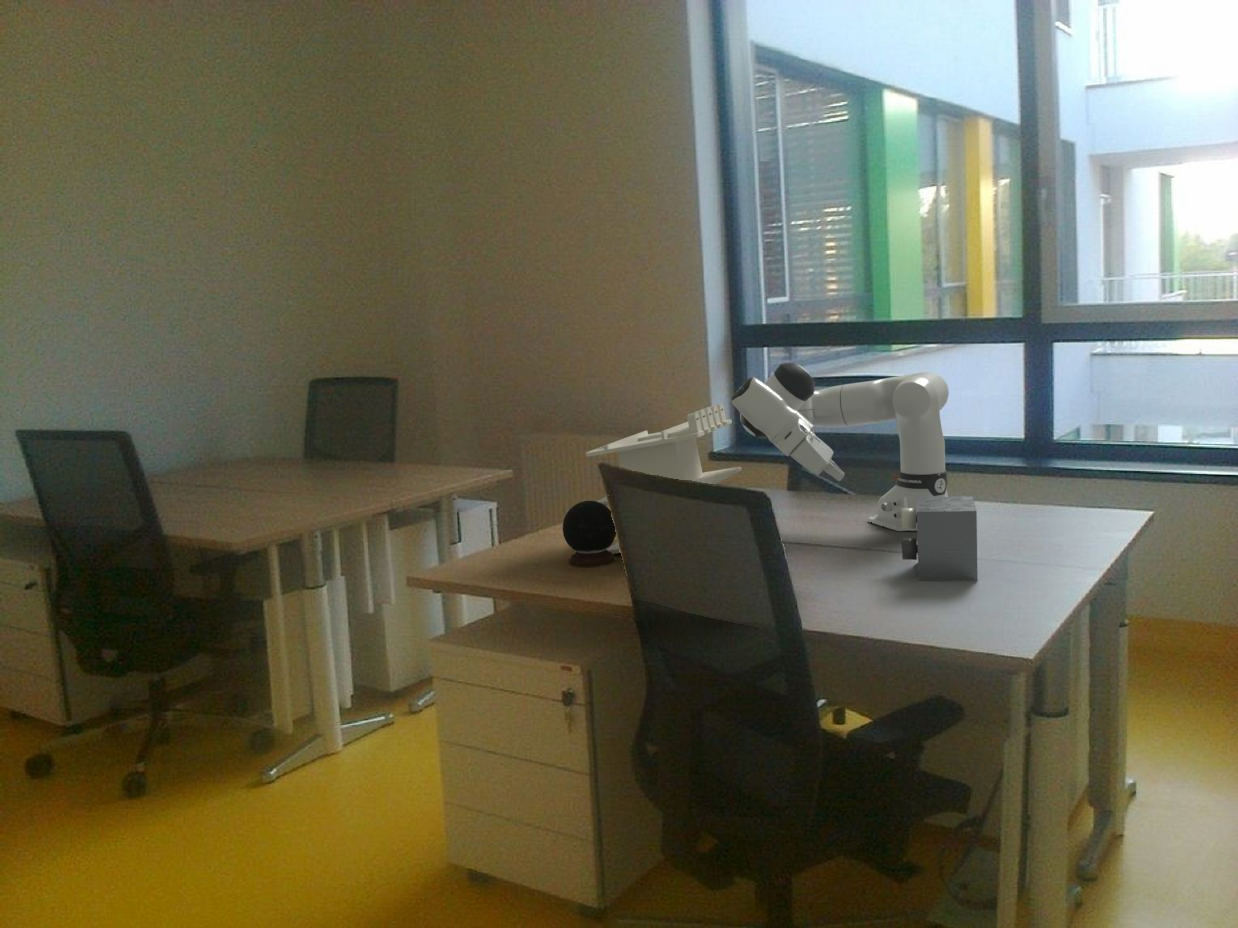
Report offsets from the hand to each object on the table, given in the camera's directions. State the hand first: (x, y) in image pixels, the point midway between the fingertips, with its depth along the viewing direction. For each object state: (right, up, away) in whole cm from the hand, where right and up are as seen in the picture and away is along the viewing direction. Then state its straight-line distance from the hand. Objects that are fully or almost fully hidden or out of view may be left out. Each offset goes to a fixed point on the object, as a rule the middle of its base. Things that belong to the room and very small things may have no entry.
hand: (842, 478), depth 253 cm
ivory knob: (+19, -11, +3) cm, 22 cm away
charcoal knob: (+17, -17, -4) cm, 25 cm away
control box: (+23, -20, 0) cm, 30 cm away
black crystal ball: (-55, -21, +29) cm, 66 cm away
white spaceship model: (-35, -18, +42) cm, 58 cm away
